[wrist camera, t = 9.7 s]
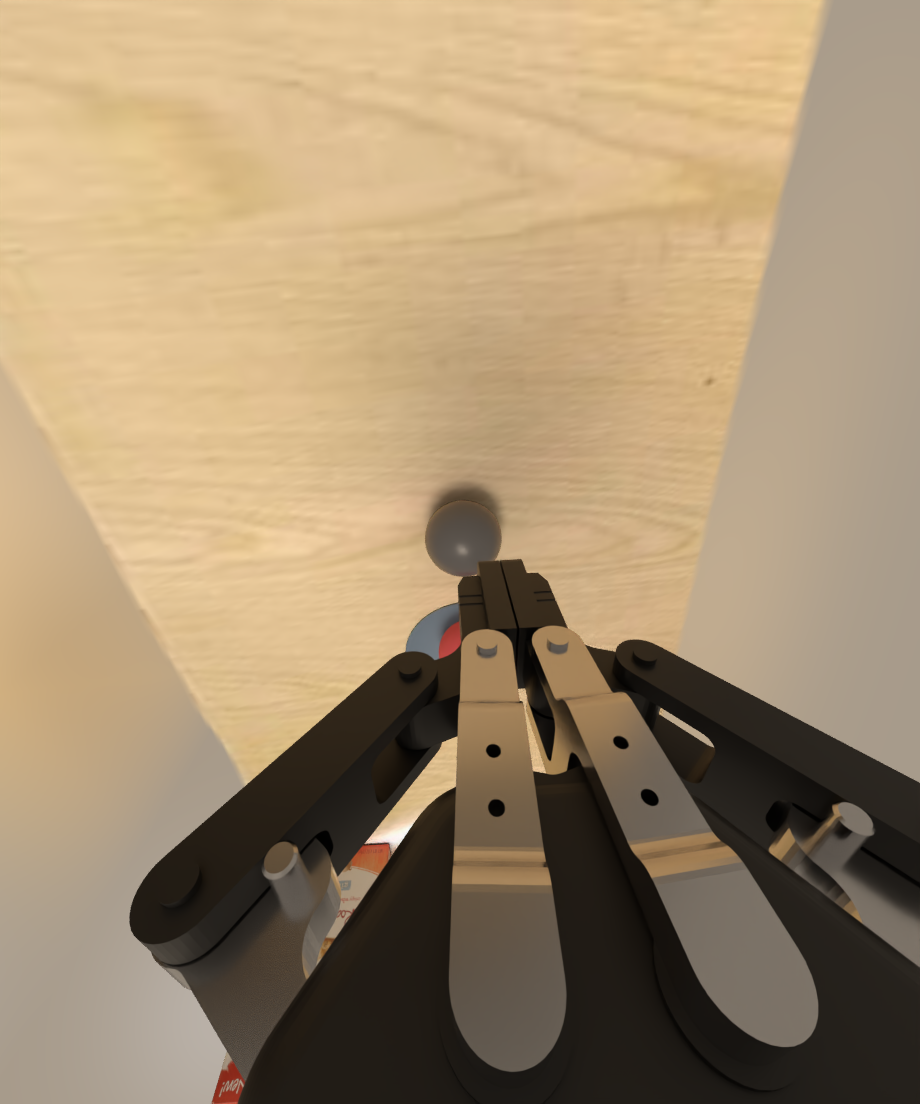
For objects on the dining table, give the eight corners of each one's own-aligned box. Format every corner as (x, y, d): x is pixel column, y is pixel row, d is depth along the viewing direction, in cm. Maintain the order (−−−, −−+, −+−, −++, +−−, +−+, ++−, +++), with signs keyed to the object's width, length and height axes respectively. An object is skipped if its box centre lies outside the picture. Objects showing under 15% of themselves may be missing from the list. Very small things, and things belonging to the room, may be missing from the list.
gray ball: (522, 550, 26) (512, 533, 32) (466, 487, 26) (465, 481, 31) (460, 602, 27) (460, 578, 33) (404, 544, 26) (413, 528, 32)
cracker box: (389, 840, 55) (366, 1098, 36) (393, 862, 58) (373, 1110, 39) (283, 846, 54) (206, 1112, 36) (293, 868, 57) (226, 1123, 39)
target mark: (557, 647, 39) (558, 649, 38) (470, 712, 43) (470, 714, 42) (467, 578, 34) (467, 579, 34) (379, 657, 38) (379, 659, 38)
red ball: (520, 638, 32) (511, 658, 37) (468, 596, 34) (467, 620, 39) (474, 691, 30) (472, 705, 35) (423, 643, 32) (427, 662, 37)
